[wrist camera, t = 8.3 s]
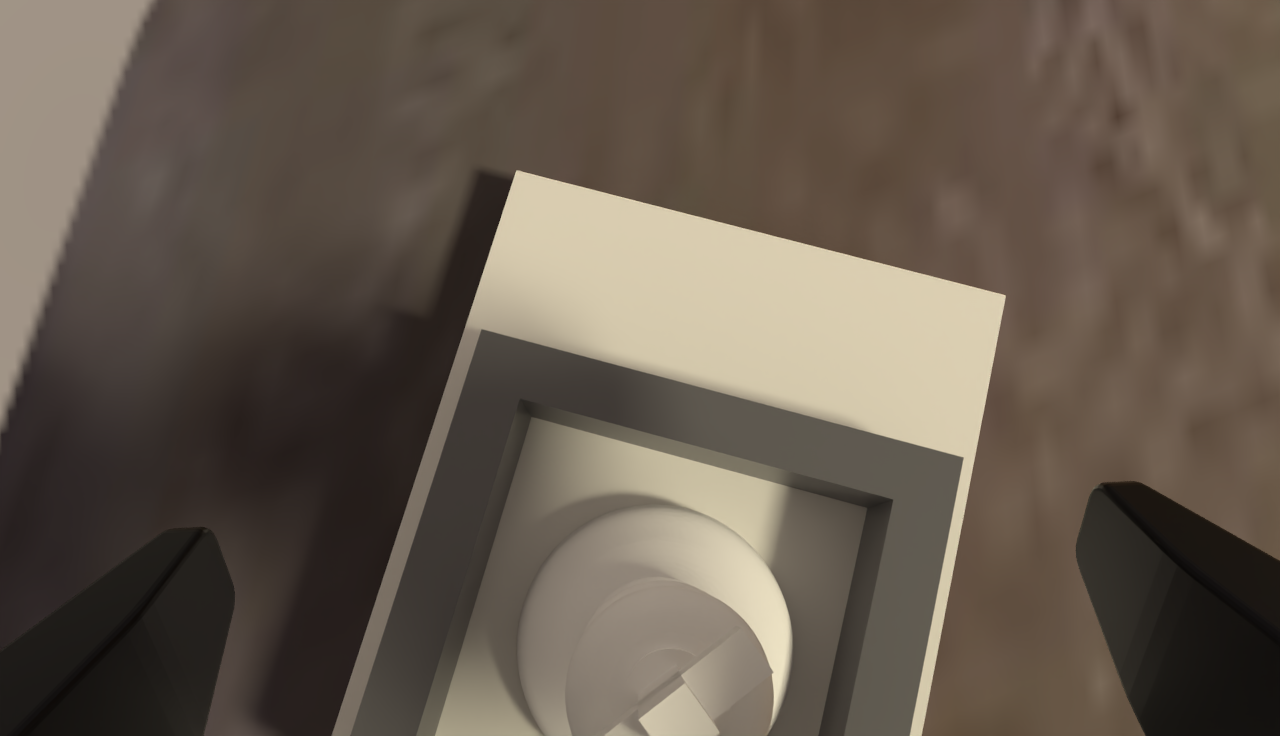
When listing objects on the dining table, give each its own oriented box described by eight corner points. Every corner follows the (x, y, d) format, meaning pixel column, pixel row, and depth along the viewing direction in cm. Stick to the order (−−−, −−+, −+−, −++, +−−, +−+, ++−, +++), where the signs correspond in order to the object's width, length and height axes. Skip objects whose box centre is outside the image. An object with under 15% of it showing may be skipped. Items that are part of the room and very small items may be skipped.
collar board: (812, 1182, 16) (852, 1317, 13) (260, 1008, 16) (178, 1100, 13) (983, 312, 19) (1045, 265, 16) (523, 194, 20) (503, 127, 17)
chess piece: (463, 613, 17) (223, 653, 7) (681, 452, 17) (737, 284, 8) (624, 852, 16) (606, 1278, 6) (848, 673, 17) (1149, 799, 7)
